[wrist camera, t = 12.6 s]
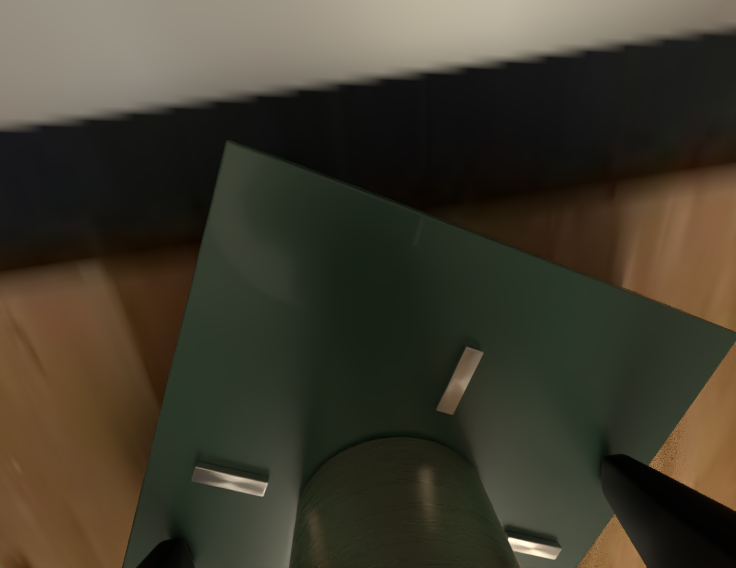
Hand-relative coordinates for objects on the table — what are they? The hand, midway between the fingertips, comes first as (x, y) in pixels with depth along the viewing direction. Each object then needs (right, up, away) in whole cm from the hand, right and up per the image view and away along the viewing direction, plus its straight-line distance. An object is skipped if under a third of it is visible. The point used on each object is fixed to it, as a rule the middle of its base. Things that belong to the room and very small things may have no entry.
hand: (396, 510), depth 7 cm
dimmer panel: (0, +1, +3) cm, 3 cm away
